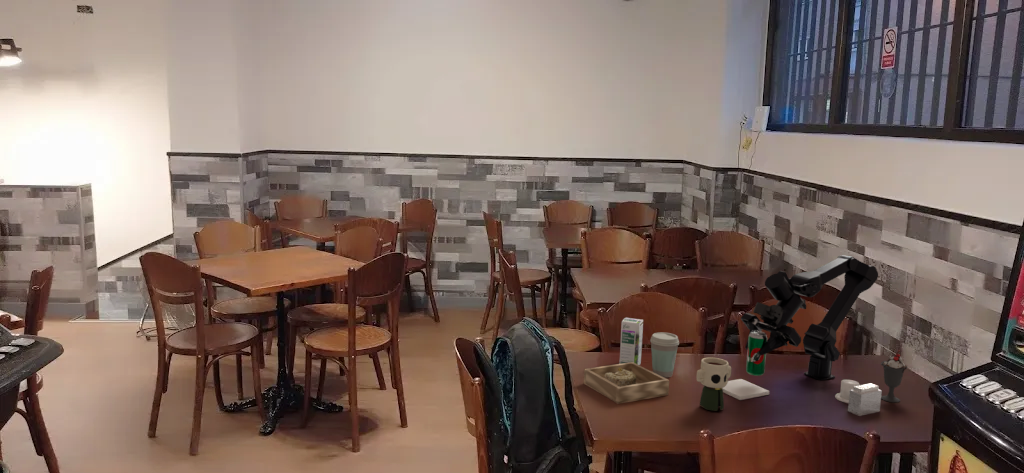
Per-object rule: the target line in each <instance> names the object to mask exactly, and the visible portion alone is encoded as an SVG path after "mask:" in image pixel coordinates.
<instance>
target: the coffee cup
mask: <svg viewBox="0 0 1024 473" xmlns="http://www.w3.org/2000/svg"><path fill="white" fill-rule="evenodd" d="M679 345H680V341H679V336H678V335H676V334H674V333H670V332H654V333H653V334H652V335H651V337H650V347H651V348H650V349H651V364H652V372H654V373H656V374H658V375H660V376H662V377H664V378H666V379H668V378H671V377H673V373H674V370H675V369H674V368H675V365H676V359H677V358H676V357H677V354H678V352H677V351H678V348H679V347H678V346H679Z"/></svg>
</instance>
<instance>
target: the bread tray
mask: <svg viewBox="0 0 1024 473" xmlns="http://www.w3.org/2000/svg"><path fill="white" fill-rule="evenodd" d="M619 368H621V369H625V370H627V371H631V372H633V373H634V374H635V375H636V377H637V378H636V384H633V385H627V386H621V387H619V386H617V385H616V384H614V383H612V382H610V381H608V380H607V379H605V378H604V377H605V373H614V374H615V373H616V372H618V369H619ZM583 384H584V385H586V386H587V387H589V388H591V389H592V390H594V391H596V392H597V393H599V394H601V395H602V396H604V397H606V398H607V399H609V400H611V401H613V402H614V403H616V404H618V405H619V404H624V403H632V402H636V401H642V400H648V399H653V398H657V397H664V396H668V395H669V387H670V380H669V379H668V378H664V377H662V376H660V375H658V374H656V373H654V372H653V370H649V369H647V368H646V367H643V366H642V365H641V364H640V365H638V364H636V363H634V362H629V363H622V364H619V363H616V364H610V365H603V366H597V367H588V368H585V369H584V371H583Z"/></svg>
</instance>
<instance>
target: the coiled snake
mask: <svg viewBox="0 0 1024 473" xmlns="http://www.w3.org/2000/svg"><path fill="white" fill-rule="evenodd" d="M604 378H605V379H607V380H608V381H610V382H612V383H614V384H616V385H617V386H619V387H621V386H627V385H633V384H636V378H637V377H636V375H635V374H634V373H633V372H631V371H627V370H625V369H621V368H619V369H618V372H616V373H615V374H614V373H605V377H604Z"/></svg>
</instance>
